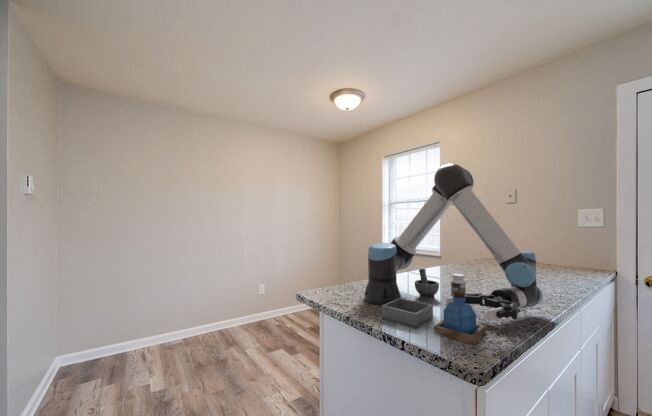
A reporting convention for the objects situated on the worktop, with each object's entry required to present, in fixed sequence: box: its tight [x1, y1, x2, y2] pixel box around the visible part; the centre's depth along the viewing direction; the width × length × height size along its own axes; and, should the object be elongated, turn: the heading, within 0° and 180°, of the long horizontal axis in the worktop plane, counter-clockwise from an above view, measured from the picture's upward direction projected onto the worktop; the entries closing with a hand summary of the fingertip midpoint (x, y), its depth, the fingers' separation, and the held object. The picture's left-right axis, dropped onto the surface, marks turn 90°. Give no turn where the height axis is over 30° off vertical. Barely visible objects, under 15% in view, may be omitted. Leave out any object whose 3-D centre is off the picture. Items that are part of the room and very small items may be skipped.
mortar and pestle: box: [414, 268, 440, 301], centre depth 120 cm, size 11×9×12 cm
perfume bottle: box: [443, 291, 477, 335], centre depth 83 cm, size 6×6×12 cm
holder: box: [433, 319, 486, 345], centre depth 83 cm, size 11×11×2 cm
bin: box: [381, 297, 434, 330], centre depth 95 cm, size 13×13×4 cm
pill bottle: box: [450, 273, 467, 297], centre depth 121 cm, size 6×6×10 cm
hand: (465, 308), depth 84 cm, fingers open, 13 cm apart
